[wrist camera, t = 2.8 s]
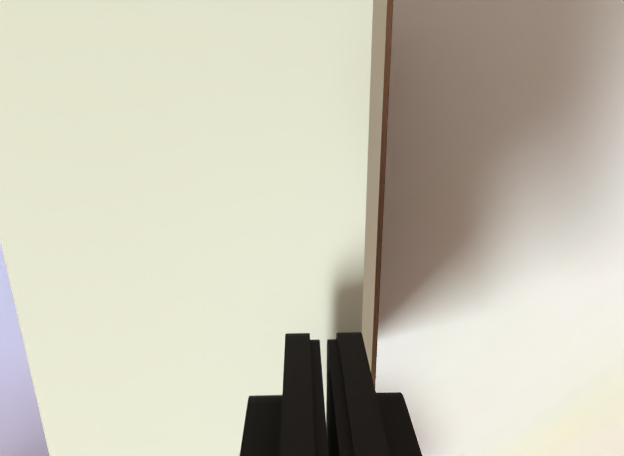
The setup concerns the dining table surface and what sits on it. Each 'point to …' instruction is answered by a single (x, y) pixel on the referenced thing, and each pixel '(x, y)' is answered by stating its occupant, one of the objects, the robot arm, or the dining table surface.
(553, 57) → the dining table surface
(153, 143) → the lid
